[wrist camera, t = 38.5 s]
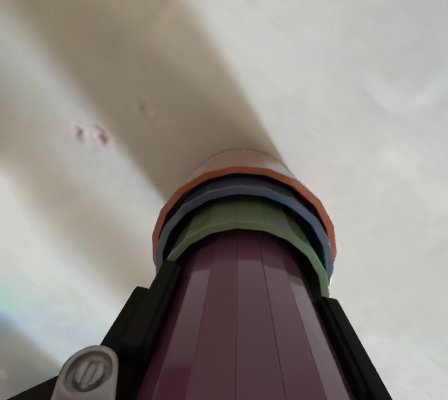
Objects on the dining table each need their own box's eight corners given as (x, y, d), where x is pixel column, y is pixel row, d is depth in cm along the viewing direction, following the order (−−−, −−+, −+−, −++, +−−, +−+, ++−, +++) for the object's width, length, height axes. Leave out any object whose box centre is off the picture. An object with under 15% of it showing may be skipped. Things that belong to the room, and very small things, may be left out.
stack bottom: (264, 124, 19) (280, 125, 11) (321, 228, 22) (365, 285, 14) (159, 189, 21) (116, 226, 14) (222, 276, 24) (214, 348, 16)
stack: (260, 136, 19) (279, 148, 10) (310, 225, 22) (362, 300, 13) (170, 192, 21) (120, 243, 12) (224, 268, 24) (215, 359, 15)
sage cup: (256, 152, 19) (277, 187, 9) (298, 224, 21) (356, 325, 11) (182, 197, 21) (126, 271, 11) (227, 261, 23) (216, 378, 12)
